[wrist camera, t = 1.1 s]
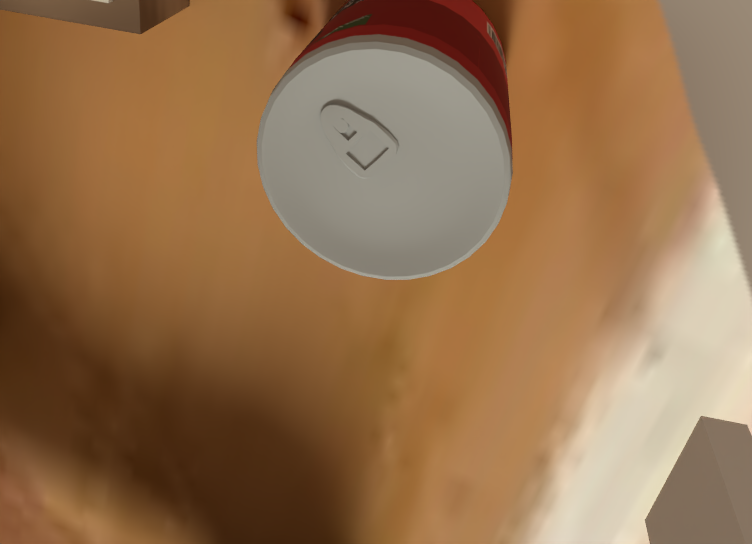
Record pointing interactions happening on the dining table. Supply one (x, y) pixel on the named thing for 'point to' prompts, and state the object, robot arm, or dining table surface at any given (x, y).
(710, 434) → the robot arm
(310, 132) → the canned food
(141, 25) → the base
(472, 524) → the dining table surface
